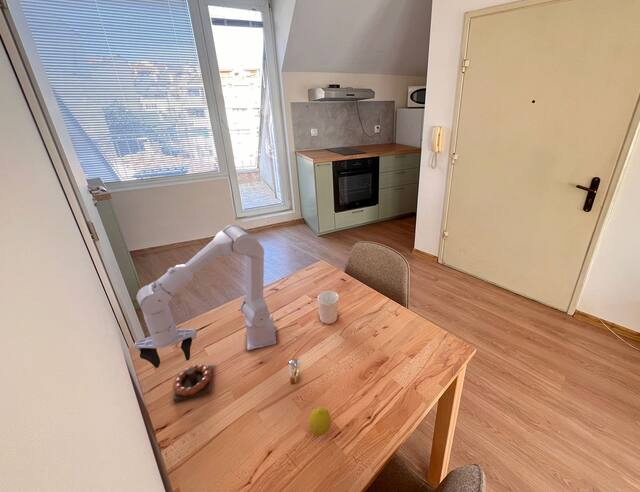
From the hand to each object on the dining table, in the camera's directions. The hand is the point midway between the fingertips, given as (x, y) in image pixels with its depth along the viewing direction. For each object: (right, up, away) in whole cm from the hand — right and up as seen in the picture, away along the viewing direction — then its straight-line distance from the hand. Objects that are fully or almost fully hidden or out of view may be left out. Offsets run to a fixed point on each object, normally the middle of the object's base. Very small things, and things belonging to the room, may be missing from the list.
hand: (173, 361), depth 84 cm
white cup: (+41, +2, +31) cm, 52 cm away
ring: (+34, -9, +6) cm, 36 cm away
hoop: (+4, -7, +3) cm, 8 cm away
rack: (+4, -9, +4) cm, 10 cm away
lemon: (+43, -15, -7) cm, 47 cm away
